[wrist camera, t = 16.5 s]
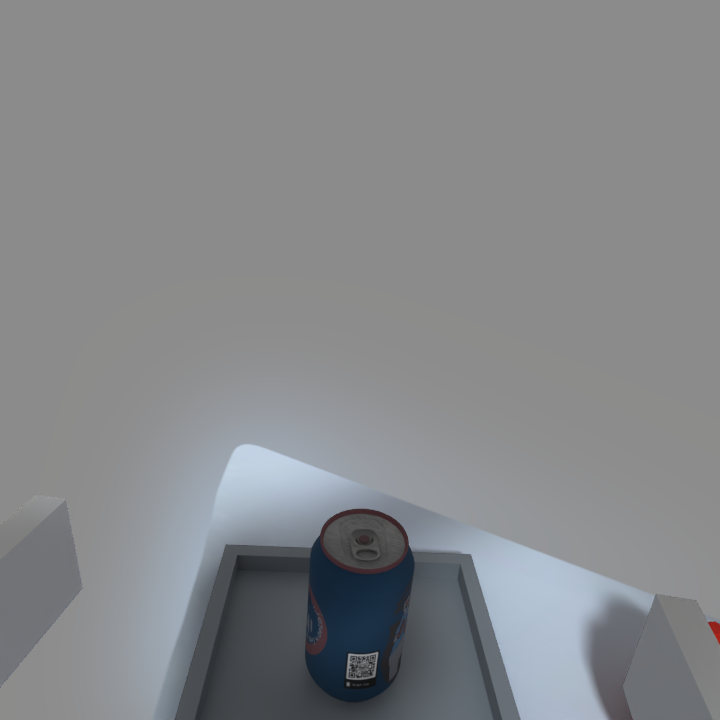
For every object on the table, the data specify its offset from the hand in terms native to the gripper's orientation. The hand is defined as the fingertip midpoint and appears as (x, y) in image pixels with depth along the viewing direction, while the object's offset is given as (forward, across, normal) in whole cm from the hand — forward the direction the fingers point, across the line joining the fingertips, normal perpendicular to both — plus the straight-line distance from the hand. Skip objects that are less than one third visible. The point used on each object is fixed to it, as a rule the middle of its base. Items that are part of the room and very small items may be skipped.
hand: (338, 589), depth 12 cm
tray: (+18, -2, -27) cm, 33 cm away
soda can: (+18, -2, -27) cm, 32 cm away
